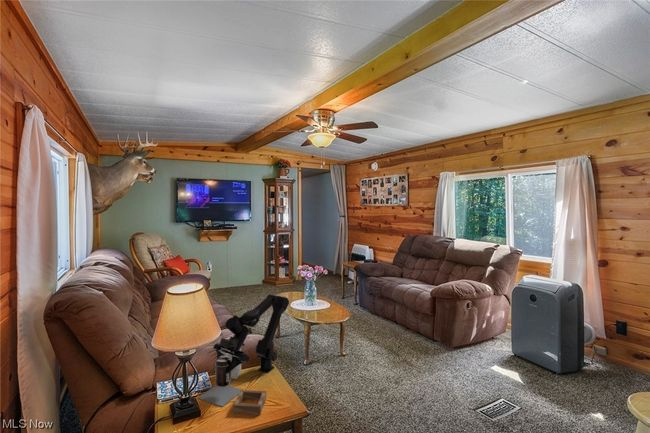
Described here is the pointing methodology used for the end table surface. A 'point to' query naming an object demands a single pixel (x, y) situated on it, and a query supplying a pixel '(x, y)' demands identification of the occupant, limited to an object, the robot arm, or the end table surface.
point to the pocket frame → (249, 408)
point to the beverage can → (223, 371)
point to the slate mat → (220, 395)
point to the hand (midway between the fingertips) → (221, 371)
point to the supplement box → (236, 370)
